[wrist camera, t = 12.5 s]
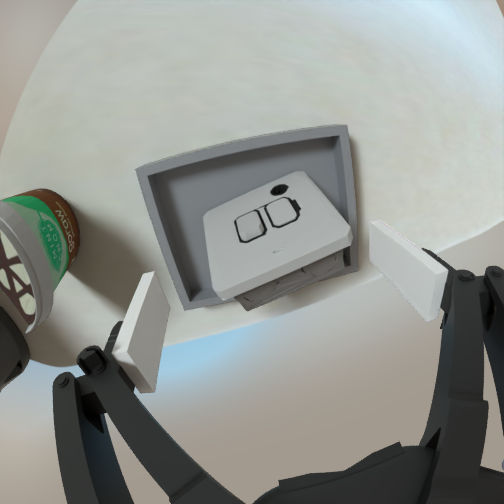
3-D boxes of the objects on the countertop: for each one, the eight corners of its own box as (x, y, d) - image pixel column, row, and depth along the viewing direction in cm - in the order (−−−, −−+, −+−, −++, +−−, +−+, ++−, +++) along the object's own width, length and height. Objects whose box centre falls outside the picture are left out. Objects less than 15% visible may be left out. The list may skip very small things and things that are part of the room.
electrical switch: (301, 167, 23) (349, 206, 15) (319, 217, 25) (364, 273, 17) (201, 212, 24) (197, 274, 16) (227, 257, 26) (236, 329, 18)
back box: (187, 295, 28) (184, 310, 25) (143, 164, 22) (135, 169, 20) (348, 259, 28) (358, 270, 26) (335, 124, 22) (347, 124, 20)
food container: (111, 260, 25) (70, 323, 16) (71, 279, 26) (29, 338, 17) (56, 152, 20) (-13, 173, 11) (20, 183, 20) (-44, 214, 11)
